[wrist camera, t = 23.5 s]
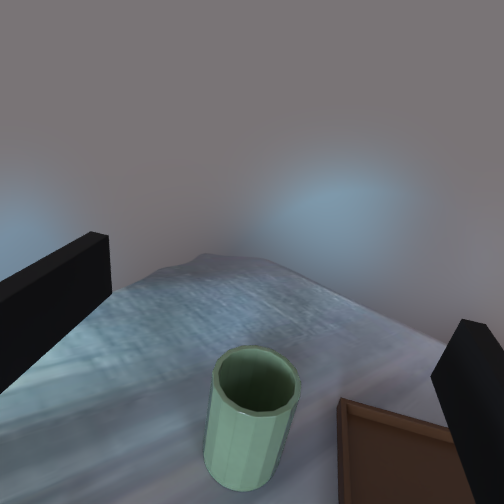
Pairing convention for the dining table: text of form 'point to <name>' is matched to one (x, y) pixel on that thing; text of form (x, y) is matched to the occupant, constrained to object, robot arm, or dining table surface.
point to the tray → (396, 459)
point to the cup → (249, 416)
